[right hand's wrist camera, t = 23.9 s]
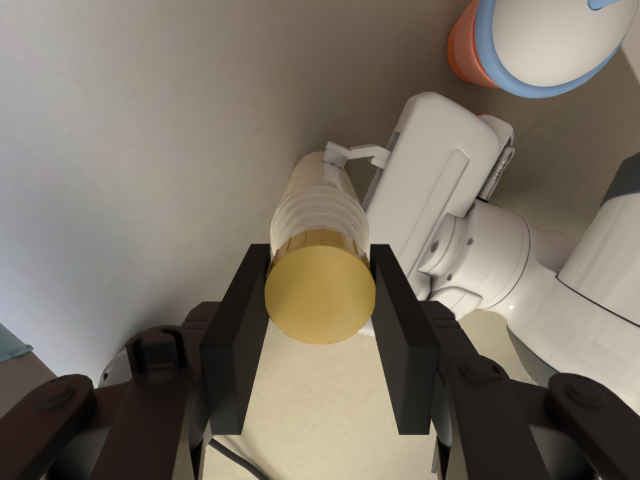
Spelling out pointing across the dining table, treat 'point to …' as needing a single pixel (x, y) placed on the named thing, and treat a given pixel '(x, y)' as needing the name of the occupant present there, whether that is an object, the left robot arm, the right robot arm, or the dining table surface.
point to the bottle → (319, 203)
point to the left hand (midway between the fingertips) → (309, 190)
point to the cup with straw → (537, 43)
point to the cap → (320, 287)
